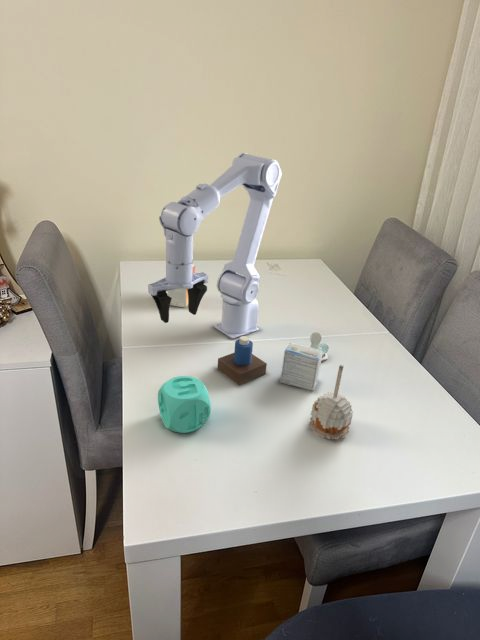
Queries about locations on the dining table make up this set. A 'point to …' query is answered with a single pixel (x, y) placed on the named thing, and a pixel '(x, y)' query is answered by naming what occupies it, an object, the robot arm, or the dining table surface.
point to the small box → (179, 296)
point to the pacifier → (315, 342)
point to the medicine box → (301, 366)
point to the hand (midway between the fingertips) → (178, 316)
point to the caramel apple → (331, 413)
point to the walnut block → (241, 369)
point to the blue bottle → (243, 351)
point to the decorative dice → (184, 404)
